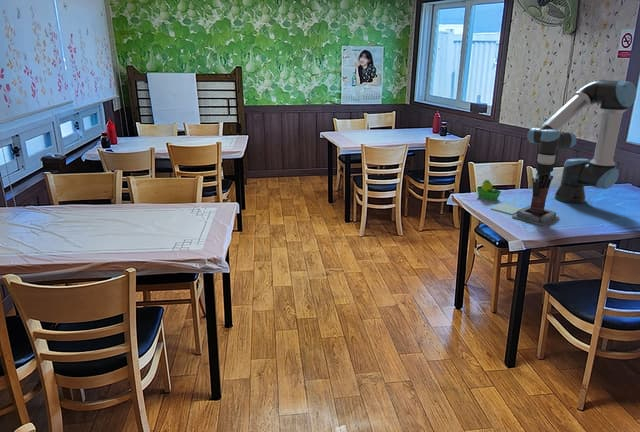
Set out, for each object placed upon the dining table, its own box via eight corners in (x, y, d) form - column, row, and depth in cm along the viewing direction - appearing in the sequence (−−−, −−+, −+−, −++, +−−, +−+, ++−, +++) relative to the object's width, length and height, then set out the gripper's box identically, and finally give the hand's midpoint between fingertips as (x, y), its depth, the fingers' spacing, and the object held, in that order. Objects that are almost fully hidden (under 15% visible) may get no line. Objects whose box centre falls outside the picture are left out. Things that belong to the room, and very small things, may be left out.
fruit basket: (500, 199, 254) (503, 180, 250) (490, 202, 249) (493, 182, 245) (483, 194, 263) (486, 175, 259) (473, 197, 258) (476, 178, 254)
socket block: (527, 210, 236) (528, 204, 234) (559, 219, 224) (560, 212, 223) (512, 217, 226) (513, 211, 224) (544, 226, 214) (545, 219, 213)
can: (543, 217, 220) (549, 189, 216) (529, 215, 223) (534, 187, 218) (543, 213, 226) (548, 186, 221) (529, 211, 228) (534, 184, 223)
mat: (501, 204, 245) (502, 203, 245) (523, 210, 237) (523, 208, 237) (490, 209, 238) (490, 208, 238) (512, 214, 229) (512, 213, 229)
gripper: (547, 159, 222) (539, 205, 230) (529, 162, 215) (521, 209, 223) (561, 162, 215) (552, 209, 223) (543, 166, 209) (535, 214, 217)
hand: (537, 209), depth 223 cm, fingers closed
